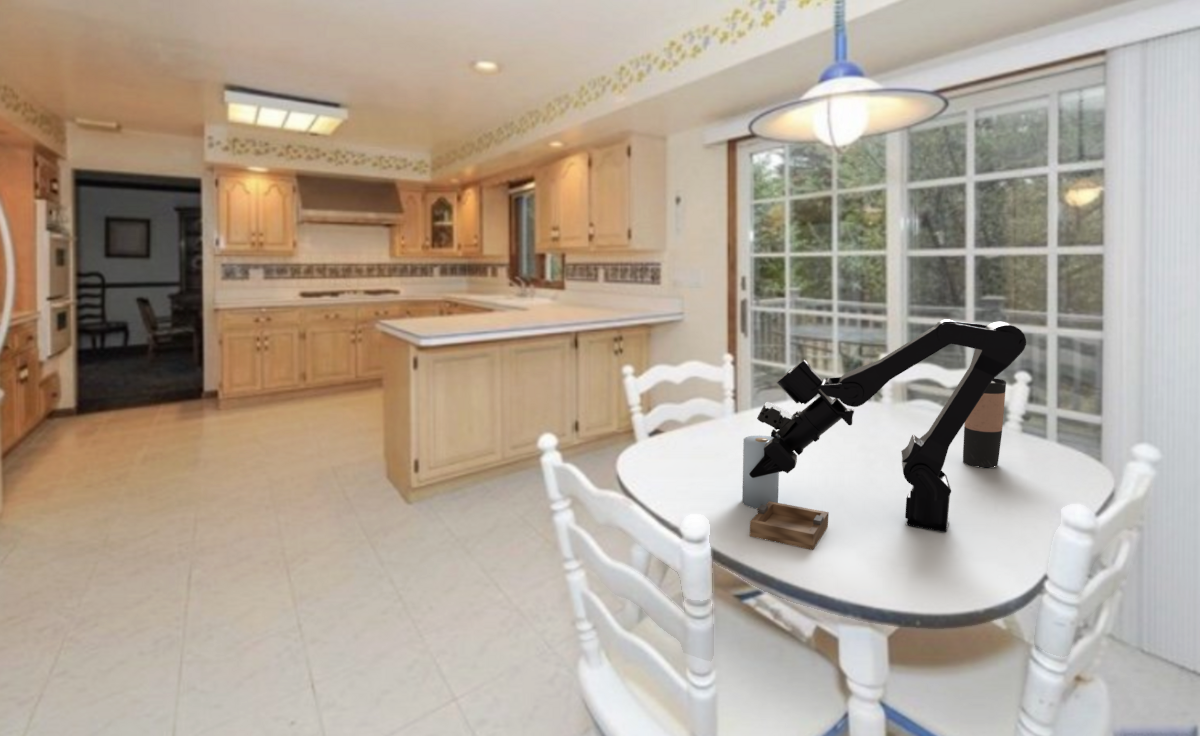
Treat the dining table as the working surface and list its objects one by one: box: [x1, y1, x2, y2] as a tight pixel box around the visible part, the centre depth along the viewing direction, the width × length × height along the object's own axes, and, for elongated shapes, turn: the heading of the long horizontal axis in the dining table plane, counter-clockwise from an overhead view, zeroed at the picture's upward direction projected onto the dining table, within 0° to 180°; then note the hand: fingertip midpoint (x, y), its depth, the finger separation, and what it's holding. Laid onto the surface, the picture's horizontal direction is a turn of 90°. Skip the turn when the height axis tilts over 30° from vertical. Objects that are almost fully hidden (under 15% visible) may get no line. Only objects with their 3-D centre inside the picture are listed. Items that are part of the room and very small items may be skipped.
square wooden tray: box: [749, 501, 829, 551], centre depth 117 cm, size 11×11×4 cm
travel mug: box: [962, 377, 1007, 468], centre depth 151 cm, size 8×8×20 cm
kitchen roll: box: [741, 434, 780, 509], centre depth 130 cm, size 7×7×13 cm
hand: (753, 470), depth 130 cm, fingers closed on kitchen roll, 7 cm apart
